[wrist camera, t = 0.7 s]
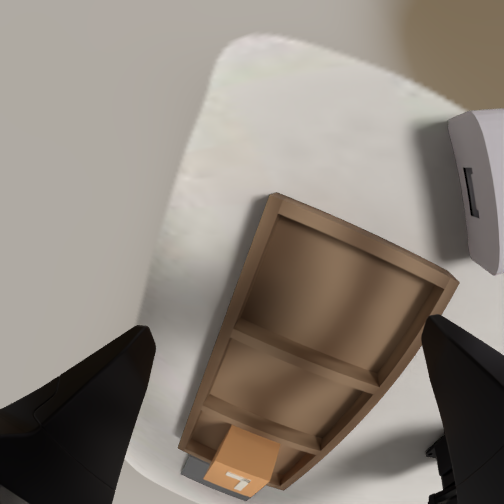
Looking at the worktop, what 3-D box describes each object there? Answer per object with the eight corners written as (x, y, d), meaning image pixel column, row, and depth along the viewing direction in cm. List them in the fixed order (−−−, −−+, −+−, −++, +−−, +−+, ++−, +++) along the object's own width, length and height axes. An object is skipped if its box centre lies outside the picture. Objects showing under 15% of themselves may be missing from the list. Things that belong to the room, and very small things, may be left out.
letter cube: (281, 440, 23) (269, 482, 18) (262, 461, 25) (250, 498, 20) (233, 421, 24) (214, 461, 19) (220, 444, 26) (202, 479, 21)
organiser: (447, 271, 16) (459, 282, 14) (287, 476, 26) (283, 490, 24) (276, 192, 18) (269, 194, 16) (185, 435, 27) (177, 447, 25)
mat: (265, 482, 27) (264, 486, 26) (247, 497, 29) (246, 501, 29) (190, 452, 28) (189, 456, 28) (182, 471, 31) (180, 474, 30)
